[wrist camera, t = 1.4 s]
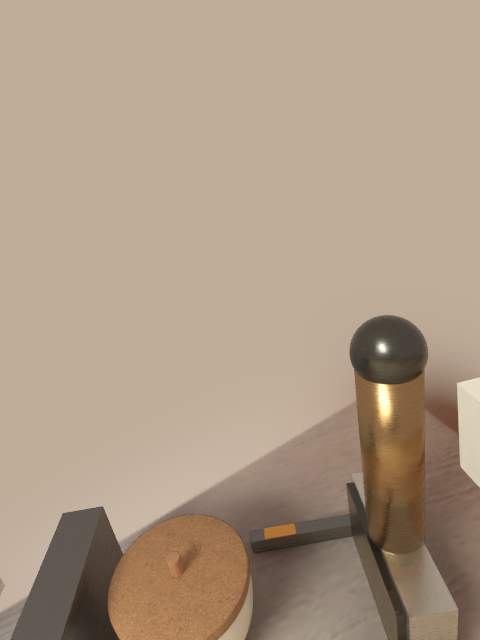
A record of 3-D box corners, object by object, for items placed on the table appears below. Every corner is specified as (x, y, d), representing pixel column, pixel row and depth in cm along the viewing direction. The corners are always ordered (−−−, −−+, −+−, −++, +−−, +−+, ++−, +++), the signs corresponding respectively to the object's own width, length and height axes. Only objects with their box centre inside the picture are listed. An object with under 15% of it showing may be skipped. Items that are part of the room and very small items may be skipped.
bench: (47, 785, 28) (-16, 702, 24) (104, 567, 42) (71, 493, 38) (484, 715, 27) (493, 618, 23) (392, 518, 41) (388, 437, 37)
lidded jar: (184, 557, 41) (161, 486, 38) (284, 598, 36) (268, 520, 32) (107, 674, 33) (67, 598, 29) (222, 750, 28) (191, 668, 24)
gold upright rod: (401, 692, 29) (387, 379, 19) (350, 539, 40) (323, 291, 30) (465, 682, 28) (485, 362, 19) (396, 531, 40) (385, 280, 30)
